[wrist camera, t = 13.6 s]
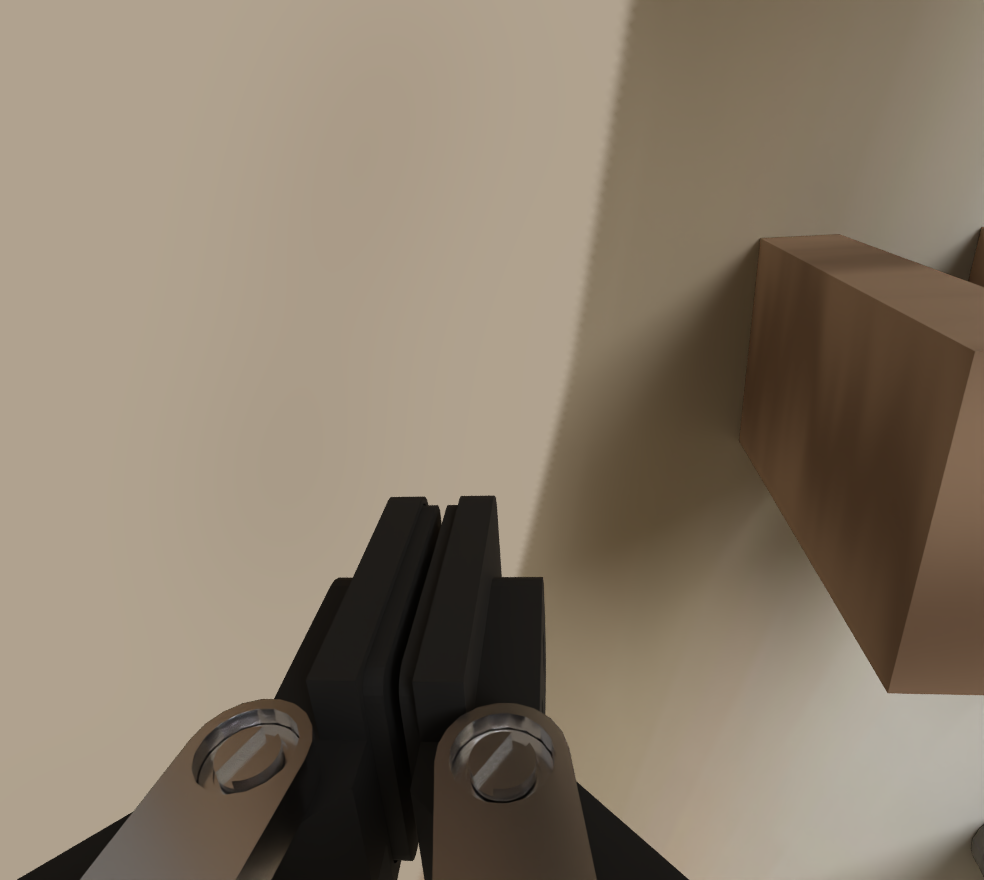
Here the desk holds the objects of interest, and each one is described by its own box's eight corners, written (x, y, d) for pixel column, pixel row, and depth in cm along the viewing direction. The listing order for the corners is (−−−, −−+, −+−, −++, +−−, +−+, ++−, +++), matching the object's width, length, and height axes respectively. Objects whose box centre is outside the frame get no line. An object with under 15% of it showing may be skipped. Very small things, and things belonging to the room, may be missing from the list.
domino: (760, 238, 18) (975, 351, 9) (838, 234, 17) (1143, 346, 8) (739, 440, 20) (888, 692, 11) (807, 439, 20) (1015, 695, 11)
